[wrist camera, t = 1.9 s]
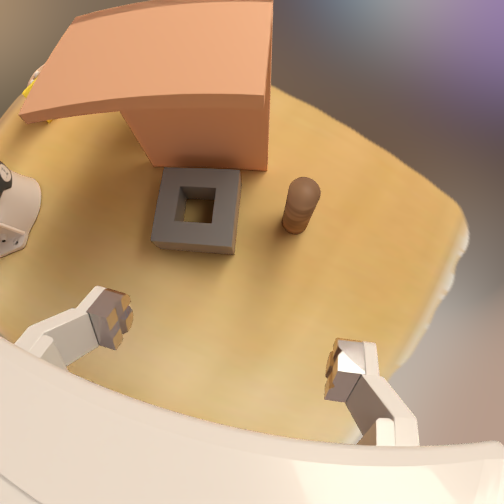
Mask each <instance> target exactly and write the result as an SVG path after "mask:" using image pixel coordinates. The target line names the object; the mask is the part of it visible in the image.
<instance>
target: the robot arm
mask: <svg viewBox="0 0 504 504" xmlns="http://www.w3.org/2000/svg"><path fill="white" fill-rule="evenodd" d="M40 204H41V190H40V187H39V184H38V183H37V181H36V180H35V179H33V178H31V177H27V176H23V175H21V174H18V173H16V172H14V171H12V170H10V169H8V168H7V167H6V166H5V165H4V164H3V163H2V162H1V161H0V257H3V256H5V255H8V254H10V253H12V252H15V251H17V250H20V249H22V248H24V247H25V245H26V243H27V239H28V235H29V232H30V229H31V228H32V226H33V224H34V222H35V220H36V218H37V215H38V213H39V209H40ZM17 243H18V244H17ZM130 302H131V300H130V296H129V295H128V294H125V293H122V292H118V291H115V290H112V289H108V288H104V287H101V286H95V287H94V288H93V289H92V290H91V291H90V293H89V294H88V295H87V296H86V297H85V298H84V299H83V301H82V302H81V303H80V304H79V305H78V306H77V308H76V309H75V308H71V309H69V310H67V311H64V312H62V313H59V314H57V315H55V316H52V317H50V318H48V319H45V320H43V321H40V322H38V323H36V324H33V325H31V326H29V327H28V328H27V330H26V331H25V332H24V333H23V334H22V335H21V337H20V338H19V339H18V340H17V341H16V342H15V344H13V343H11V342H9V341H8V340H6V339H4V338H3V337H1V336H0V504H504V445H502V444H501V443H500V442H498V441H485V442H478V443H468V444H454V445H440V446H439V445H437V446H419V436H418V426H417V419H416V417H415V416H414V415H413V414H412V412H411V411H410V410H409V409H408V407H407V406H406V405H405V403H404V402H403V401H402V400H401V398H400V397H399V396H398V395H397V393H396V392H395V391H394V390H393V388H392V387H391V386H390V385H389V384H388V382H387V381H386V380H385V379H384V377H381V376H379V366H378V357H377V348H376V344H375V343H373V342H365V341H357V340H349V339H342V338H336V340H335V342H334V344H333V351H332V352H330V354H329V357H328V361H327V365H326V374H325V376H326V377H327V382H326V384H325V393H324V399H325V400H331V401H338V402H345V404H346V406H347V408H348V409H349V411H350V413H351V415H352V417H353V418H354V420H355V422H356V424H357V426H358V427H359V429H360V431H361V433H362V435H363V437H362V438H361V440H360V441H359V442H358V443H357V444H356V445H355V444H342V443H331V442H321V441H313V440H305V439H298V438H291V437H284V436H278V435H272V434H266V433H261V432H256V431H251V430H246V429H241V428H236V427H232V426H227V425H223V424H219V423H215V422H211V421H207V420H203V419H199V418H195V417H192V416H188V415H185V414H181V413H178V412H174V411H171V410H168V409H164V408H161V407H158V406H155V405H152V404H149V403H146V402H143V401H140V400H137V399H135V398H132V397H129V396H126V395H123V394H121V393H118V392H116V391H113V390H110V389H108V388H105V387H103V386H100V385H98V384H95V383H93V382H91V381H88V380H86V379H84V378H81V377H79V376H77V375H75V374H72V373H70V372H69V371H68V369H67V367H66V366H67V365H69V364H71V363H72V362H74V361H75V360H77V359H79V358H80V357H82V356H84V355H85V354H87V353H88V352H90V351H92V350H93V349H95V348H96V347H98V346H99V345H101V346H104V347H107V348H110V349H113V350H117V348H118V346H119V345H120V343H121V342H122V340H123V335H122V334H124V333H126V332H128V331H129V329H130V328H131V325H132V322H133V310H132V309H131V308H130V306H129V304H130Z"/></svg>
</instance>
